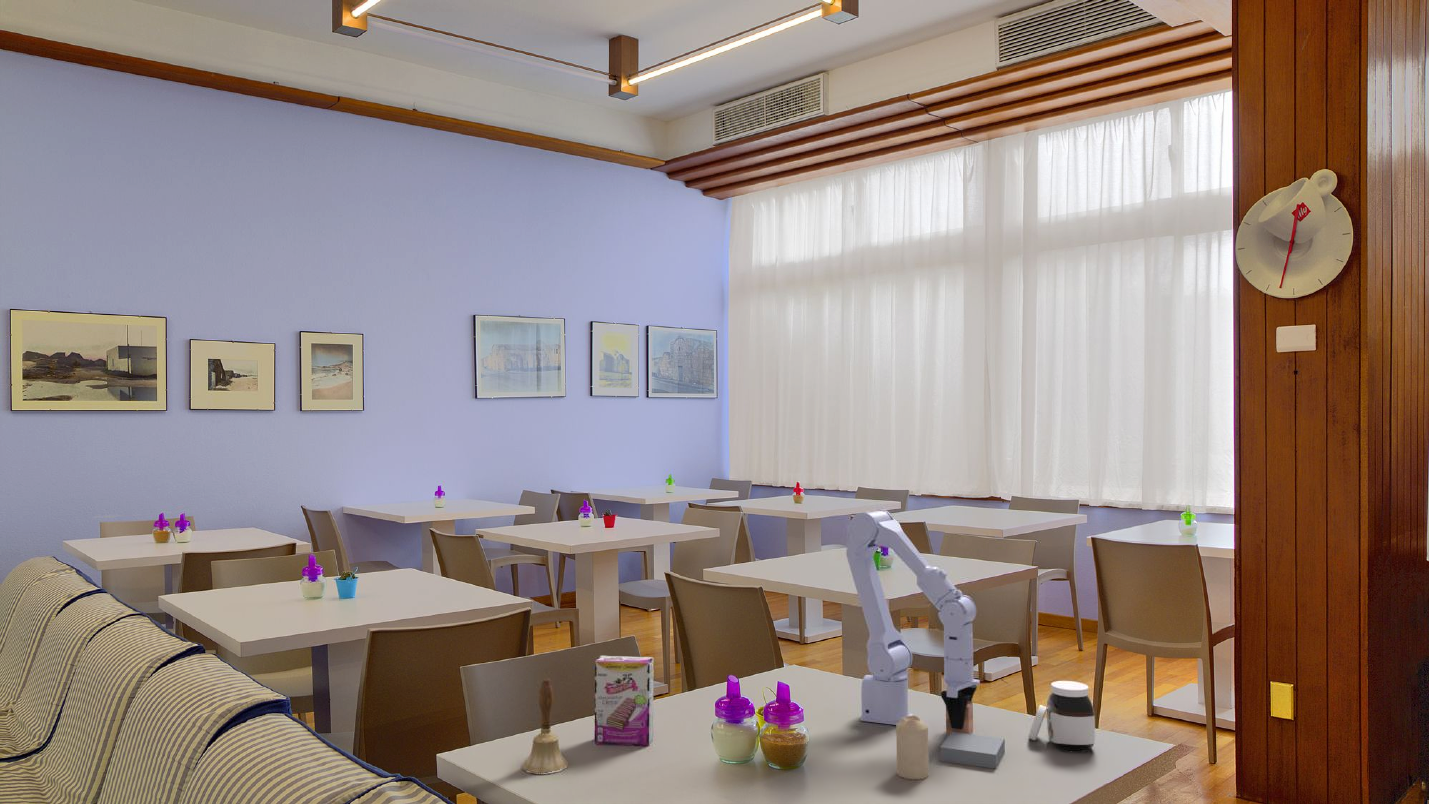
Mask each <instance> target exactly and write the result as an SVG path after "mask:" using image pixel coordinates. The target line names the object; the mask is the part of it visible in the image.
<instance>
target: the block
mask: <svg viewBox="0 0 1429 804" xmlns="http://www.w3.org/2000/svg"><path fill="white" fill-rule="evenodd" d="M973 702H974V701H973V700H972V701H968V703H967V707H966V711H965V719H964V725H963V729H954V728H952V727H951V724H950V719H949V715H948V711H947V708H946V707H945V735H946V734H947V735H946V736H949V734H950V733H951V732H958V733H966V734H973V732H974V703H973Z"/></svg>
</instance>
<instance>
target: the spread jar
mask: <svg viewBox="0 0 1429 804" xmlns="http://www.w3.org/2000/svg"><path fill="white" fill-rule="evenodd" d="M1089 689H1090V688H1089V685H1087V684H1085V683H1082V682H1078V681H1072V680H1071V681H1070V680H1059V681H1054V682H1051V684H1050V690H1051V693H1050V694H1049V696H1048V697H1047V701H1046V706H1045V705H1041V704H1039V707H1038V710H1037V711H1036V713H1035V717H1034V719H1033V722H1032V725H1031V728H1030V729H1029V733H1028V739H1031V740H1033V741H1036V739H1037V738H1038V736H1039V733H1040V729H1041V727H1042V724H1043V722H1044V719H1045V717H1046V729H1047V736H1048V739H1049V742H1050V744H1051V746H1052V747H1054V748H1056V749H1058V750H1061V751H1064V752H1070V751H1072V752H1071V753H1073V752H1074V753H1081V752H1082V751H1083V752H1087V751H1090V750H1091V749H1092V748H1093V747H1094V745H1095V742H1096V741H1095V740H1096V719H1095V718H1096V717H1095V709H1094V707H1093V703H1092V701H1091V699H1090V697H1089V692H1090V690H1089Z"/></svg>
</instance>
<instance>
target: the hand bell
mask: <svg viewBox="0 0 1429 804" xmlns="http://www.w3.org/2000/svg"><path fill="white" fill-rule="evenodd" d="M541 681H542V682H541V686H540V688H539V693H538V702H539V703H538V704H539V708H540V712H541V723H540V724H541V725H540V733H538V734H537V735H535V736H534V737H533V739H532V747H531V750H530V751H531V752H530V754H529V756H528V758H527V759H526V760H525V761H524V762H523V764H522V767H521V768H523V769H524V770H525V771H529V772H531V773H538V774H537V775H542V774H541V773H548V772H552V771H557V770H560V769H564V768H565V767H566V766H569V763H568V761H567V760H566V758H565V757H563V754H562V753H561V749H560V745H559V738H558V735H556V734H554V733H553V732H551V711H552V708H553V705H554V690H553V687H552V684H551V679H550V678H543V679H542V680H541ZM523 769H522V770H523ZM524 770H523V771H524ZM525 771H524V772H525ZM531 773H530V774H531ZM539 773H540V774H539Z"/></svg>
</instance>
